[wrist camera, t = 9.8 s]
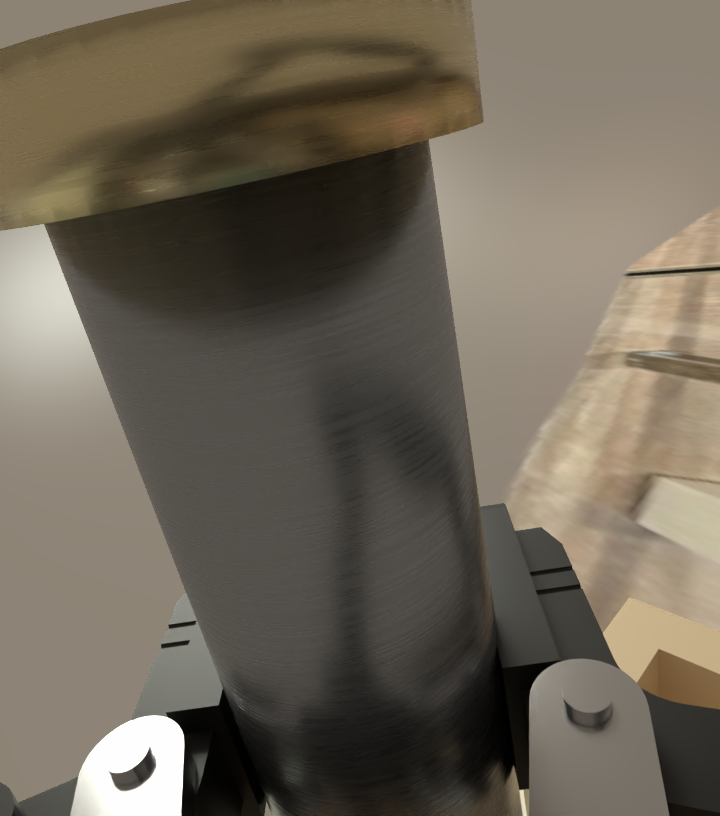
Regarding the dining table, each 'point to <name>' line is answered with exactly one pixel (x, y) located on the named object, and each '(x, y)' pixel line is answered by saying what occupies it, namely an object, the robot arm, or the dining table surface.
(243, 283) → the pin
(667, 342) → the dining table surface
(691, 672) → the dock
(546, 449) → the dining table surface
